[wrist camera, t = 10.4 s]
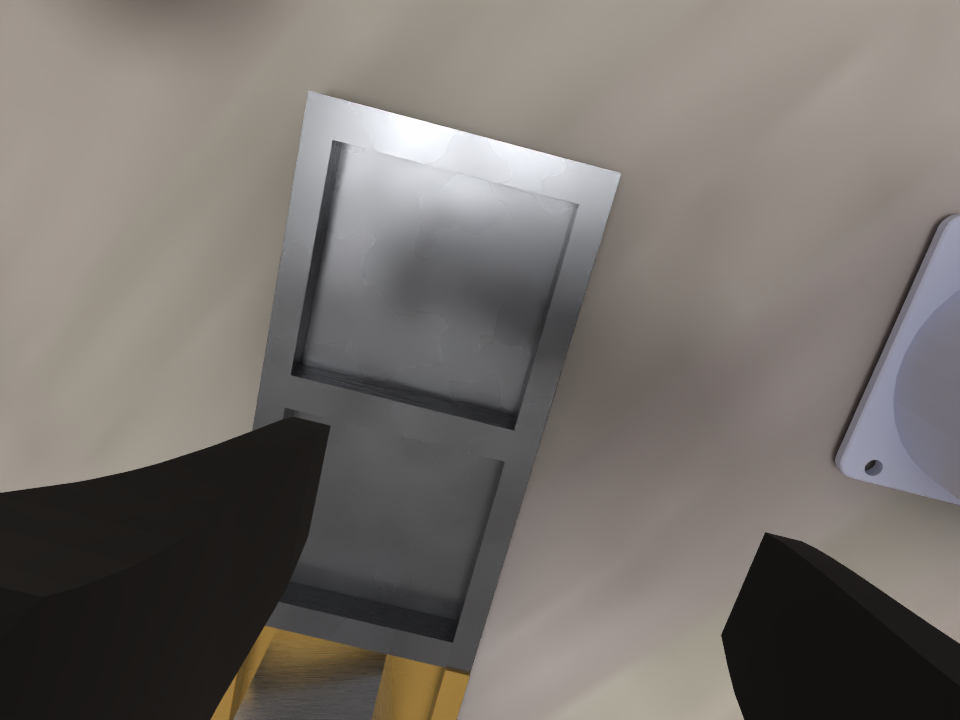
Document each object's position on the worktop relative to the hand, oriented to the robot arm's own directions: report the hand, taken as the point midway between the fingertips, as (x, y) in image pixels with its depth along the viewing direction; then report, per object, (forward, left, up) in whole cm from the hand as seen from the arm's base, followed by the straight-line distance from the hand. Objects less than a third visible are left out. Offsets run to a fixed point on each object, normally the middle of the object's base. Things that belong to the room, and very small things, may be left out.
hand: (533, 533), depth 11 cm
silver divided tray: (+3, +6, -10) cm, 12 cm away
